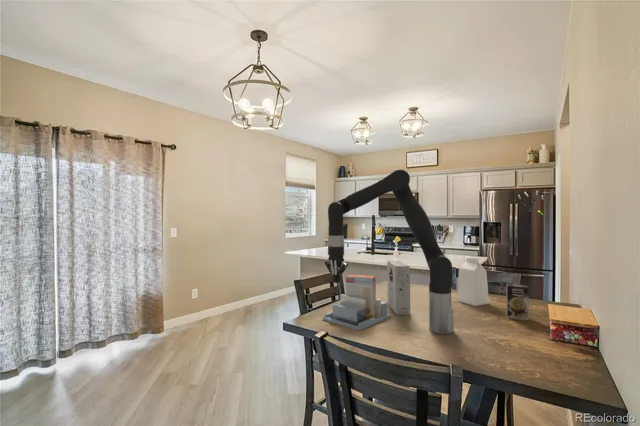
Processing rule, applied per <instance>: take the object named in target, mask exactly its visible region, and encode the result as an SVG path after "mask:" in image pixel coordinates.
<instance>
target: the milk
mask: <svg viewBox="0 0 640 426" xmlns="http://www.w3.org/2000/svg"><path fill="white" fill-rule="evenodd" d="M487 274H488V273H487V270H486V268H485V267H483V265H482V264H481V263H480V261H479V259H478V257H477V258H476V257H471V256H467V258H466V260H465V261H464V263H463V264H462V265H461V266H460V268H459V269H458V277H457V278H458V281H457V283H458V284H457V299H456V301H457V302H460V303H463V304H466V305H470V306H474V307H477V306H483V305H489V303H490V301H489V289H488V285H489V284H488V275H487Z"/></svg>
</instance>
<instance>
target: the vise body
mask: <svg viewBox="0 0 640 426" xmlns="http://www.w3.org/2000/svg"><path fill="white" fill-rule="evenodd" d="M391 315H392V314H390V313H388V301H382V299H379V298H376V318H371V319H368V320H366V321H363V322H361V323H358V326H355V325H351V324H348V323H345V322H341V321H338V320H335V319H333V311H330V312H327V313H324V316H323V317H322V320H323V321H325V322H329V323H333V324H335V325H338V326H341V327H345V328H347V329H352V330H355V331H358V332H359V331H362V330H365V329H366V328H369V327H371V326H373V325H376V324H379V323H380V322H382V321H385V320H388V319H390V318H391Z"/></svg>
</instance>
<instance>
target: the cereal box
mask: <svg viewBox="0 0 640 426" xmlns="http://www.w3.org/2000/svg"><path fill="white" fill-rule="evenodd" d="M386 262H387V263H386V265H387V266H386V267H387V268H386V269H387V272H386V273H387V274H386V275H387V305H389V307H390V308H391V310H392V311H393V312H394V314H395V315H411V266H410V265H408V263H405V262H404V261H402V260H399V259H398V260H397V259H390V260H389V259H387V261H386Z"/></svg>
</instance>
